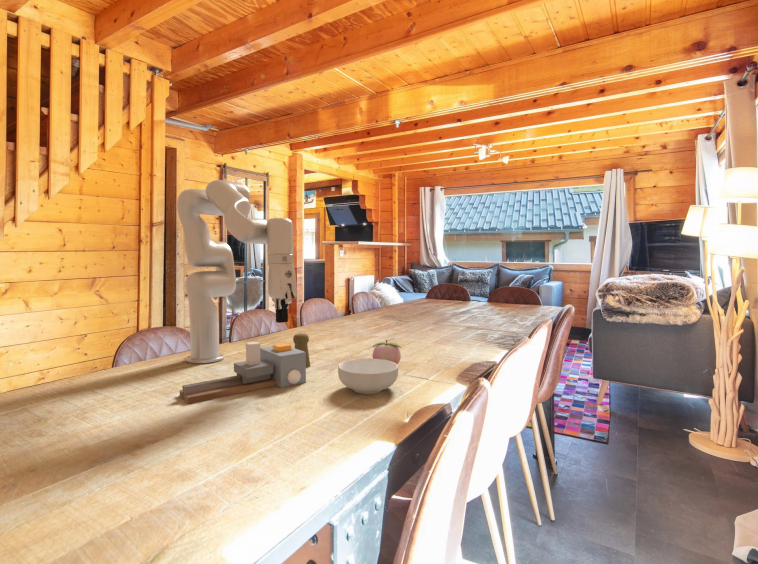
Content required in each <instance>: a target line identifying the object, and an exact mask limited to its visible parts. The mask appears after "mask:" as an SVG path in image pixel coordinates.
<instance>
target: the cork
mask: <svg viewBox="0 0 758 564" xmlns="http://www.w3.org/2000/svg"><path fill="white" fill-rule="evenodd" d="M309 337H310V336H309V335H308V333H307V334H306V333H300V332H299V333H297V334H294V335H293V337H292V340H293V343H294V348H295V349H298V350H301V351H304V352H306V369H307V368H311V360H310V352H309V346H308V343H309V340H310V338H309Z"/></svg>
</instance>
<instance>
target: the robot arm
mask: <svg viewBox="0 0 758 564" xmlns="http://www.w3.org/2000/svg"><path fill="white" fill-rule="evenodd" d="M250 200H251V192H250V189H249V188H248V187H247V185H246V184H244V183H241V182H237V181H232V180H231V181H230V180H224V179H214V180H212V181H210V182H209V183H208V184H207V185H206V186H205V189H199V188H190V189H189V188H188V189H184V190H183V191H181V192H180V193H179V195H178V197H177V202H176V209H177V215H178V219H179V221H180V225H181V227H182V230H183V237H184V238H183V239H184V247H185V253H186V259H187V263H188V264H189V265H190V267H193V268H200V269H202V268H203V269H204V268H215V270H201V271H200V270H199V271H194V272H192V273H190V274H188V276H187V277H186V279H185V282H184V283H185V284H184V285H185V291H186V294H187V300H188V314H189V340H190V355H188V356H186V357H185V361H186V362H187V363H189V364H209V363H215V362H219V361H221V360H222V361H223V359H224V358H225V355H224V353H222V352H220V328H219V326H220V325H219V321H220V320H219V309H218V306H217V305H216V303H215V301H214V300H213V298H219V297H220V298H221V297H229V296H231V295H233V294H234V293H235V291H236V288H237V278H236V277H237V276H236V270H235V269H236V268H235V261H234V260H235V259H234V254H233V250H232V248H231V246H230V245H229V244H228V243H227V242H225V241H217V240H215V241H213V240H212V239H211V233H210V232H211V231H210V228H209V226H208V223H206V221H205V219H204V218H202V216H201V215H208V216H220V217H221V216H222V217H224V225H225V228H226V229H227V232H228V233H230V234H231V236H233V237H234V238H235V239H237V241H238V242H241V243H243V244H249V245H250V244H252V245H253V244H254V245H255V244H256V245H260V244H261V245H266V246H267V247H266V248H267V249H266V253H267V255H266V256H267V266H268V272H267V273H268V275H267V276H268V277H267V289H268V290H267V293H268V296H269V297H270V298H271V301H272V302H273V303H274V308H275V323H279V324H282V323H288V322H289V312H288V311H289V308H290V307H289V306H290V304H293V299H296V298H297V296H298V291H297V289H298V288H297V277H296V276H297V275H296V269H295V263H294V261H295V260H294V225H293V221H292V220H291V219H290V218H286V217H285V218H284V217H273V218H272V217H271V218H269V219H267V218H266V219H264V218H254V217H247V216H248V215H249V213H250V211H251V203H250Z"/></svg>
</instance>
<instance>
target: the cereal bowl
mask: <svg viewBox="0 0 758 564" xmlns="http://www.w3.org/2000/svg"><path fill="white" fill-rule="evenodd" d="M337 373H338V379H339V380H340V382H341V384H343V385H344V386H345V387H346V388H348V389H350V390H353V392H355V393H357V394H362V395H363V394H364V395H372V394H373V395H374V394H379V393H380V392H382V391H383V390H386V389H389V388H390V387H392V386H393V385H394V384H395V383H396V381H397V378H398V375H399V365H398V364H396V363H394V362H392V361H388V360H382V359H373V358H353V359H347V360H344V361H342V362H340V363H339V364H338V366H337Z"/></svg>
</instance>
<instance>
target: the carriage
mask: <svg viewBox="0 0 758 564" xmlns="http://www.w3.org/2000/svg"><path fill="white" fill-rule="evenodd" d="M260 348H261V343H260V342H257V341H251V342H250V341H249V342H245V357H246V358H245V359H246V360H245V361H237V362H234V363H233V372H234V373H236V376H237V375H241V376H242V383H243V384H246V383H251V382H256V381H261V380H266V379H271V375H270V374H272V373H274V372H273V364H271V363H269V362H266V361H264V360H262V359H260Z"/></svg>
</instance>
